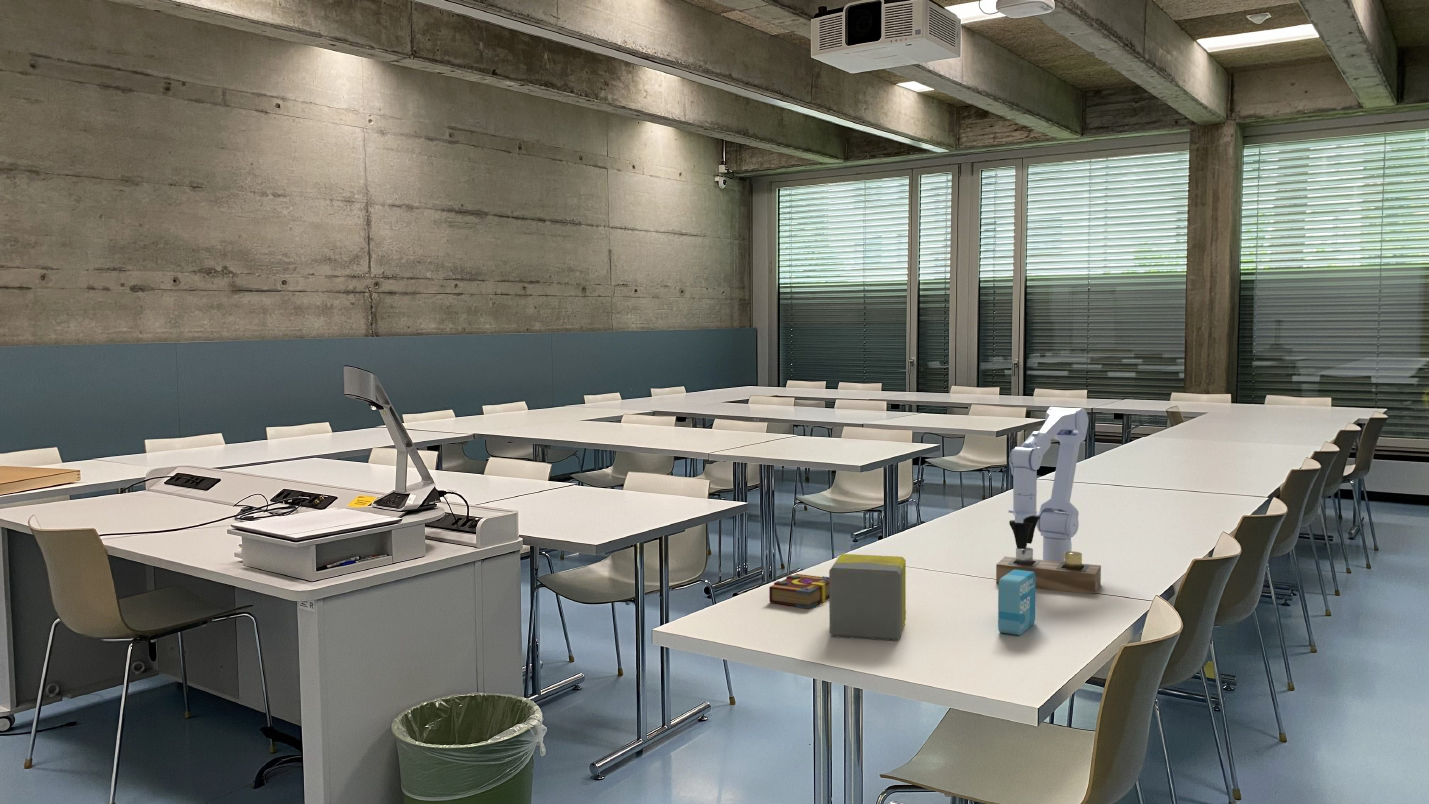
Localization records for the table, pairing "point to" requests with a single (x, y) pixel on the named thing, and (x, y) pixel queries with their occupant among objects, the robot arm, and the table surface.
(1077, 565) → the brass peg
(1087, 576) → the wooden block
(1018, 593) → the data package
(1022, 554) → the steel peg
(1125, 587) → the table surface
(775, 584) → the decorative book
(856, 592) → the yellow-topped grey cube
